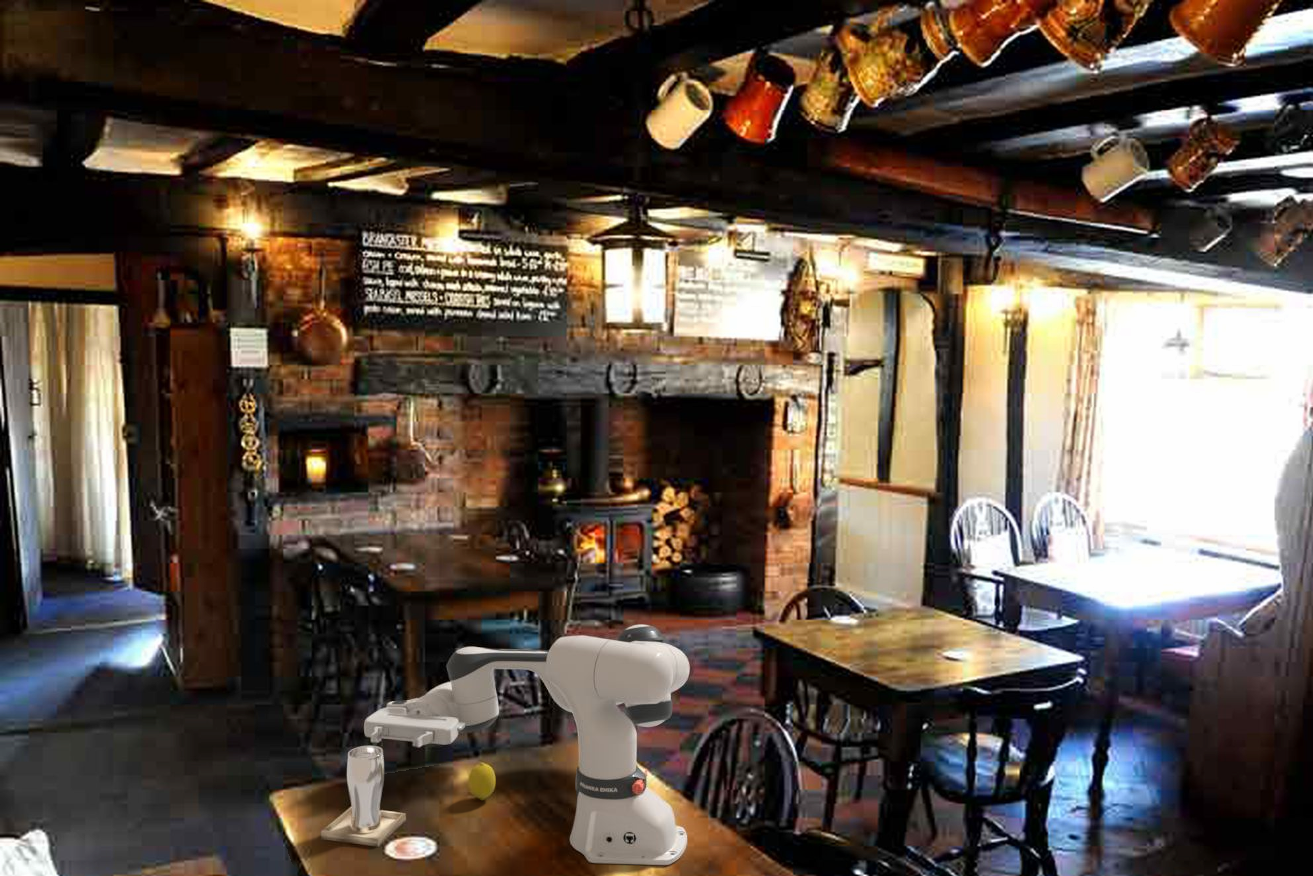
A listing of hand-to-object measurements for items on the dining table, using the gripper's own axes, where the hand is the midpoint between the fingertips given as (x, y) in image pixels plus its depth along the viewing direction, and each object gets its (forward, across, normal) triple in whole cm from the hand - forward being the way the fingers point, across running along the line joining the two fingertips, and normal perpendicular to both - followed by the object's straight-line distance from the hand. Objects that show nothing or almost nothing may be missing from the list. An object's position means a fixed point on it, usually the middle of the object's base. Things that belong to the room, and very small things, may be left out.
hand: (394, 741), depth 204 cm
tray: (+13, 0, -13) cm, 18 cm away
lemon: (-5, -17, -13) cm, 22 cm away
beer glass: (+13, -1, -12) cm, 18 cm away
